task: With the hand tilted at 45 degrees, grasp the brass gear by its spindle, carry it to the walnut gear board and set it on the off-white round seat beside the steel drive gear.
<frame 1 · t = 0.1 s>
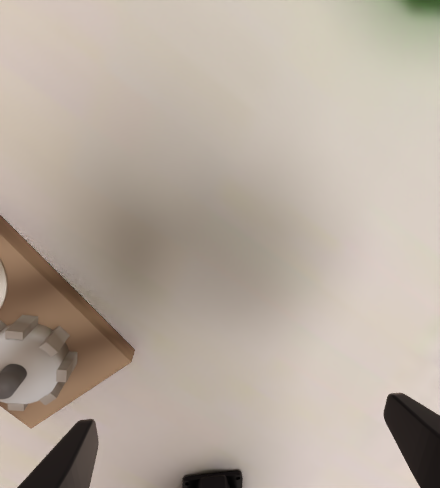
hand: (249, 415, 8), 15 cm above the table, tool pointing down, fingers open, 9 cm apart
gear board: (0, 306, 21), on the table
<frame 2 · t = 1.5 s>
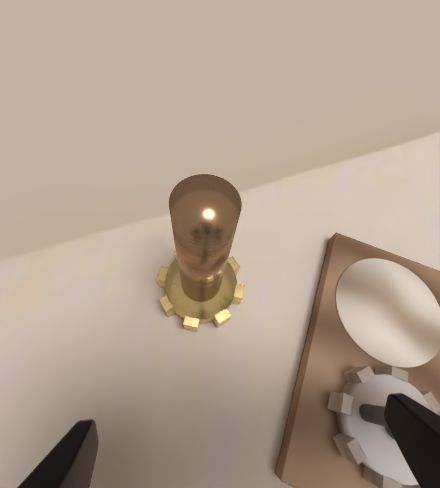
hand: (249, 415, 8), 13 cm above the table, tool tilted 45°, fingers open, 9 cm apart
gear board: (371, 360, 22), on the table
brass gear: (200, 289, 23), on the table
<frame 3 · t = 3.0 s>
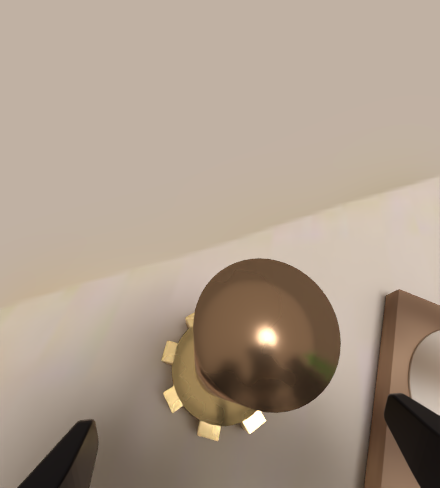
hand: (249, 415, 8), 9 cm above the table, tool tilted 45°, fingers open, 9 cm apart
brass gear: (220, 368, 17), on the table
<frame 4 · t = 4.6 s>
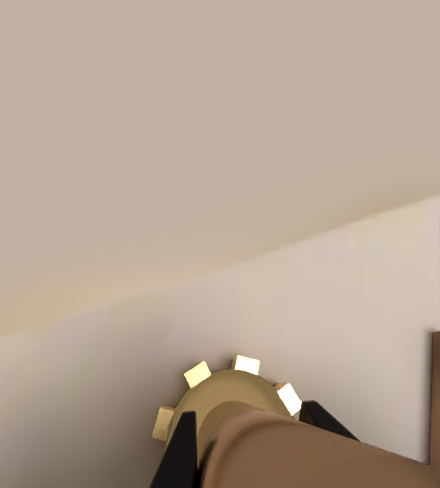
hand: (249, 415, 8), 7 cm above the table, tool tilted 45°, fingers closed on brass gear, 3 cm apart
brass gear: (229, 436, 13), on the table, touching gripper
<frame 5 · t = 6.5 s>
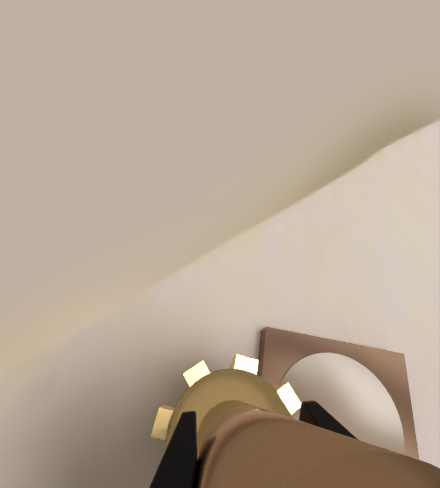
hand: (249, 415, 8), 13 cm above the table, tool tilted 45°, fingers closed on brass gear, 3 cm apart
brass gear: (228, 435, 13), point 7 cm above the table, touching gripper
when the fingers open (10 cm above the table, at t = 8.2 s): brass gear drops 1 cm, resting on gear board.
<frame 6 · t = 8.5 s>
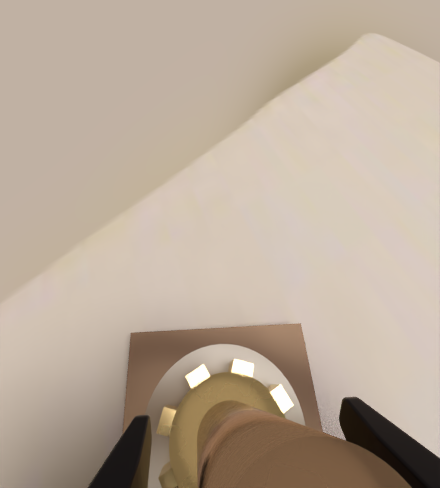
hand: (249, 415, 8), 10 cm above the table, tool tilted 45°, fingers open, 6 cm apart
brass gear: (226, 432, 15), point 2 cm above the table, touching gear board
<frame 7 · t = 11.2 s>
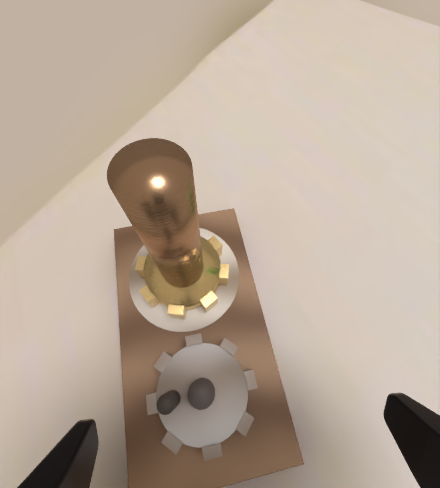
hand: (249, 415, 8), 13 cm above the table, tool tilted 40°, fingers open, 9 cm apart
gear board: (194, 329, 22), on the table
brass gear: (185, 275, 22), point 2 cm above the table, touching gear board
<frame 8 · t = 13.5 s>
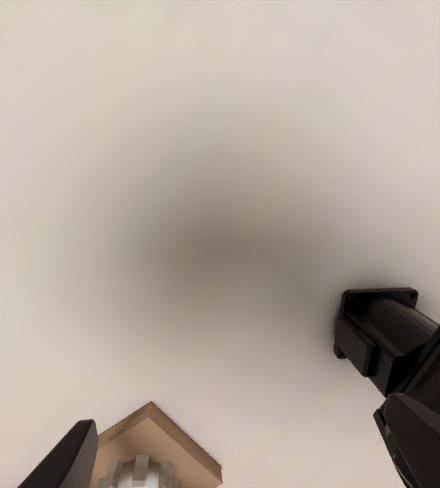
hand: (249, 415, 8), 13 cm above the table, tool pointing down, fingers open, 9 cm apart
gear board: (107, 486, 26), on the table
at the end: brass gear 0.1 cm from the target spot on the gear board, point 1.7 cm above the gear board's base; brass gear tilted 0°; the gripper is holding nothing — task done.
